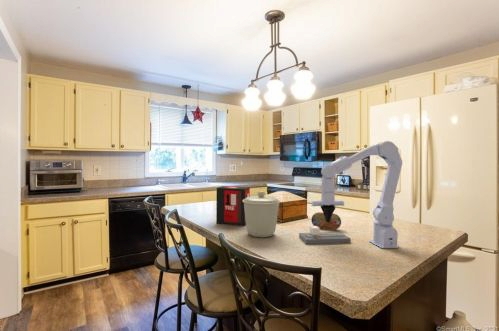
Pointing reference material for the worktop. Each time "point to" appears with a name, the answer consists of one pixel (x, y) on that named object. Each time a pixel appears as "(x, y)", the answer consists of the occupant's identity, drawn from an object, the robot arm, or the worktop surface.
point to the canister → (261, 214)
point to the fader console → (324, 238)
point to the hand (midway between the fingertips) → (327, 221)
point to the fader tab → (314, 230)
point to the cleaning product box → (231, 205)
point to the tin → (320, 221)
